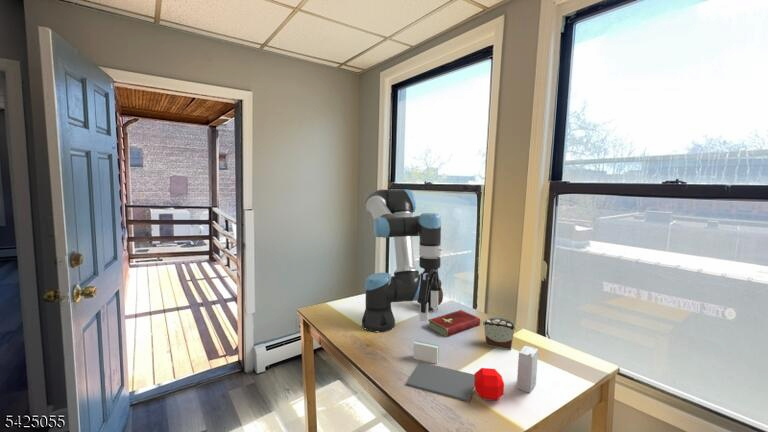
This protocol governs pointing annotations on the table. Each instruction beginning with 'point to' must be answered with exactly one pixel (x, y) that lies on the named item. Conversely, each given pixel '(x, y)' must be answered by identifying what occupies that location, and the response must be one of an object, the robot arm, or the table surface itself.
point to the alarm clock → (440, 296)
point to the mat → (443, 381)
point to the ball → (489, 384)
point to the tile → (426, 351)
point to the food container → (499, 332)
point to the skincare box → (527, 368)
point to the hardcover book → (454, 323)
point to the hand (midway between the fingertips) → (429, 313)
